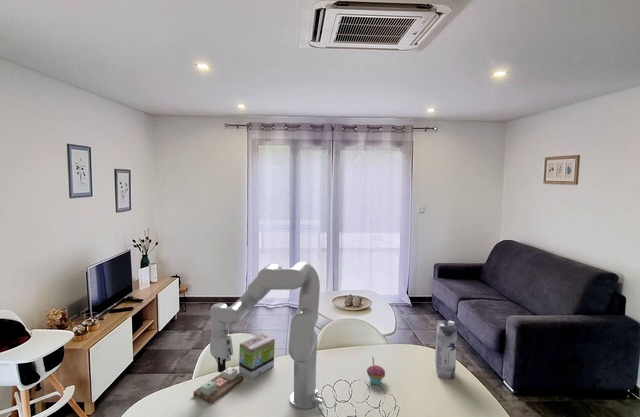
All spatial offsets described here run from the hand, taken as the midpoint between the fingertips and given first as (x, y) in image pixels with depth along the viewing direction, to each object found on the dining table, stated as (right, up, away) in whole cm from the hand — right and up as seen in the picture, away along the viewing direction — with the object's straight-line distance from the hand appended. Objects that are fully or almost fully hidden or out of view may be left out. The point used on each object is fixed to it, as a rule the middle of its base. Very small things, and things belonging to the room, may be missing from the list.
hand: (221, 370), depth 150 cm
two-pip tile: (+2, -6, +6) cm, 9 cm away
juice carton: (+107, -9, +16) cm, 108 cm away
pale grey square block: (-4, -7, -5) cm, 9 cm away
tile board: (-1, -8, +1) cm, 8 cm away
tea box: (+13, -8, +17) cm, 22 cm away
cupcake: (+71, -9, +8) cm, 72 cm away
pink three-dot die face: (-1, -8, +1) cm, 8 cm away
